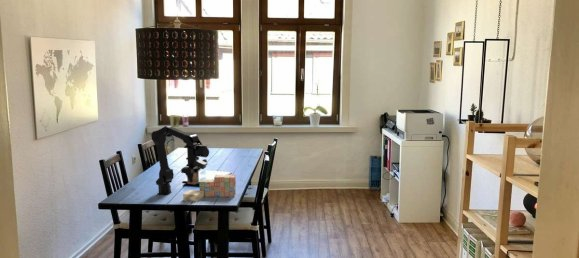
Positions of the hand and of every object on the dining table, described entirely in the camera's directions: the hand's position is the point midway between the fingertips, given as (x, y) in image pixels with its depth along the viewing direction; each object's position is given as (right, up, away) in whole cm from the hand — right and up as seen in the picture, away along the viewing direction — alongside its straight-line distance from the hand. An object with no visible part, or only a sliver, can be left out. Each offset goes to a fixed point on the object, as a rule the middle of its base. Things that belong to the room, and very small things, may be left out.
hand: (193, 181), depth 269 cm
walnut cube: (0, -1, 0) cm, 1 cm away
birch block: (0, -11, +2) cm, 11 cm away
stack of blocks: (+13, -10, +8) cm, 19 cm away
